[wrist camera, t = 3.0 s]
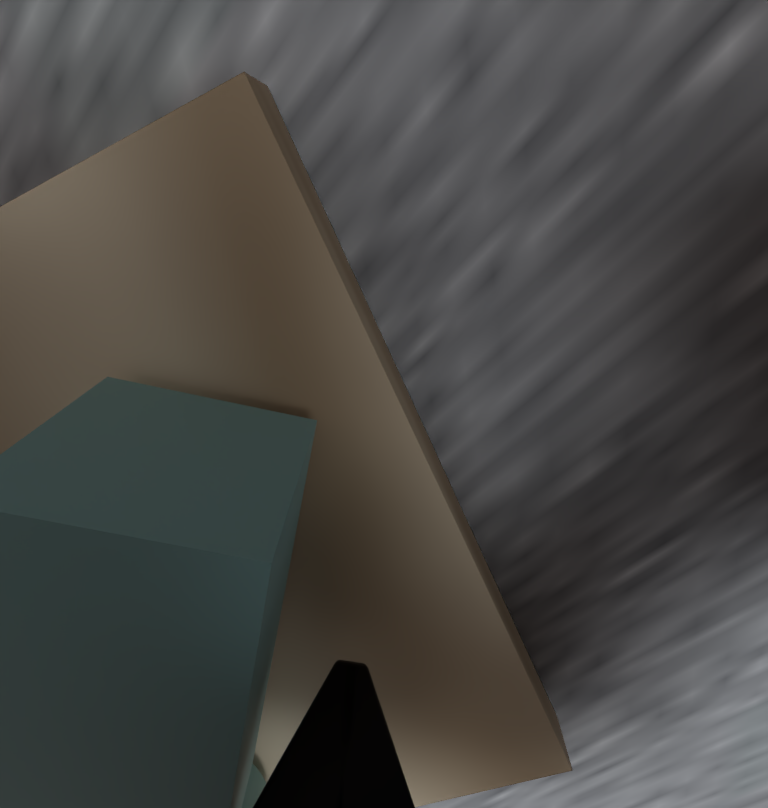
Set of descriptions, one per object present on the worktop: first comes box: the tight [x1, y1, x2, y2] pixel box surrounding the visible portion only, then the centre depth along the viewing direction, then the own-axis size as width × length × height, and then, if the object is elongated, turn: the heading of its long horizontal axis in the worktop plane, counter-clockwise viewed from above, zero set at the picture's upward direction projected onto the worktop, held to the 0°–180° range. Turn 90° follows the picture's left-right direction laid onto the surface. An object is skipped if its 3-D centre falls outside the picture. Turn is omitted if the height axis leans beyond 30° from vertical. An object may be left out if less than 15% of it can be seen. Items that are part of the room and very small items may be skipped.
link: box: [0, 377, 317, 808], centre depth 8 cm, size 12×4×4 cm, turn 167°
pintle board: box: [0, 72, 572, 807], centre depth 8 cm, size 15×14×6 cm
